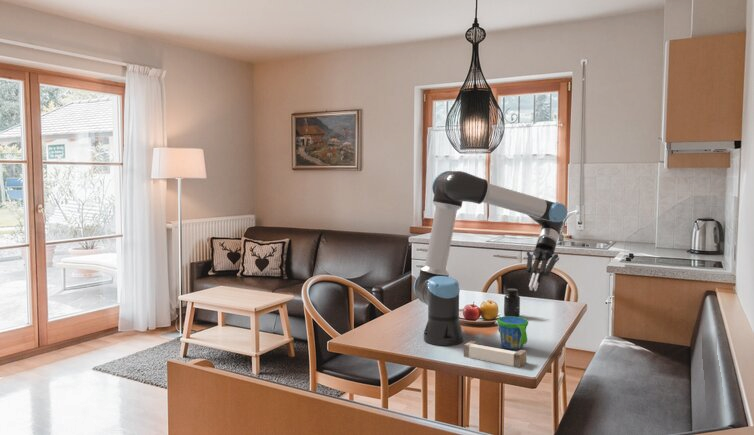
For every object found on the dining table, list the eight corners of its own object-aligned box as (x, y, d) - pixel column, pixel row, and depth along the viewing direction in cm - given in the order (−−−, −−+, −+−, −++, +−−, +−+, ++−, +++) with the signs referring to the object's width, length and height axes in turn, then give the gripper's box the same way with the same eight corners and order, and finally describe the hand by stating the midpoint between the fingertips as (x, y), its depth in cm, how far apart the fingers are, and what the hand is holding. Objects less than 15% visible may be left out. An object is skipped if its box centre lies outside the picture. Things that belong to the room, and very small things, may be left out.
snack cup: (536, 353, 193) (536, 324, 192) (508, 355, 191) (508, 326, 190) (516, 340, 208) (516, 313, 207) (490, 341, 206) (490, 315, 205)
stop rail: (463, 356, 190) (463, 344, 189) (471, 351, 195) (471, 340, 194) (519, 367, 178) (519, 355, 178) (526, 362, 183) (526, 350, 183)
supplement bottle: (520, 318, 239) (520, 291, 238) (504, 317, 241) (504, 290, 240) (519, 314, 246) (519, 288, 245) (503, 313, 247) (503, 287, 246)
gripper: (566, 248, 225) (552, 296, 213) (532, 246, 233) (517, 292, 221) (562, 236, 220) (548, 285, 208) (528, 235, 228) (512, 281, 216)
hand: (532, 288), depth 214 cm, fingers closed
